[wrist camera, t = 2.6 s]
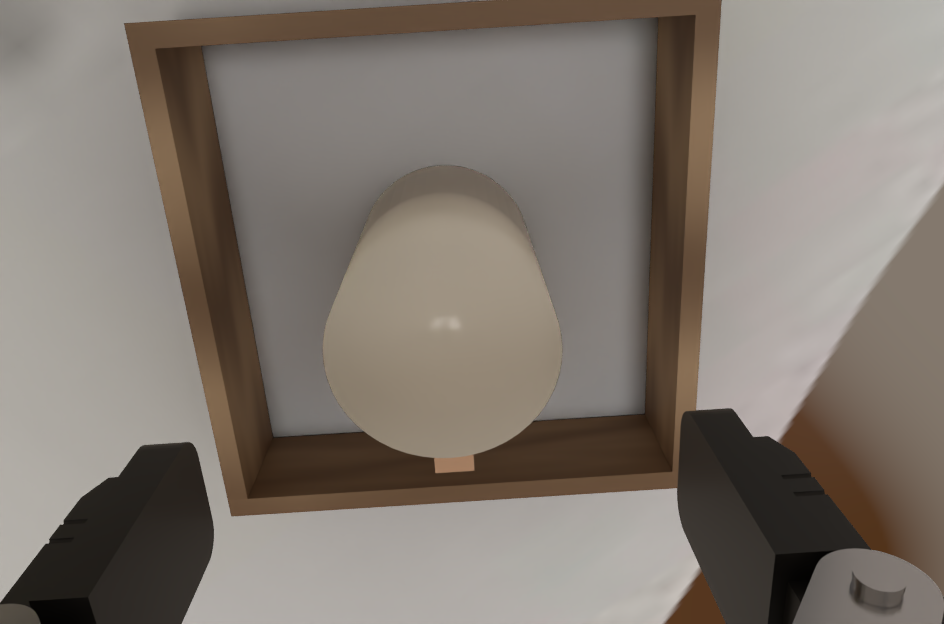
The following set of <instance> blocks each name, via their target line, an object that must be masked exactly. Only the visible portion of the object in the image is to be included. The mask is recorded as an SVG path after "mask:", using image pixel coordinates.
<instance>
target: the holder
mask: <svg viewBox="0 0 944 624" xmlns="http://www.w3.org/2000/svg"><path fill="white" fill-rule="evenodd" d="M721 1H722V0H491V1H475V2H459V3H443V4H427V5H411V6H395V7H379V8H363V9H347V10H331V11H315V12H299V13H283V14H267V15H251V16H235V17H219V18H203V19H187V20H171V21H155V22H139V23H124V25H125V30H126V34H127V39H128V44H129V48H130V53H131V57H132V62H133V67H134V71H135V76H136V80H137V85H138V89H139V94H140V99H141V103H142V108H143V112H144V117H145V122H146V126H147V131H148V135H149V140H150V145H151V149H152V154H153V158H154V163H155V167H156V172H157V177H158V181H159V186H160V190H161V195H162V200H163V204H164V209H165V213H166V218H167V223H168V227H169V232H170V236H171V241H172V246H173V250H174V255H175V259H176V264H177V268H178V273H179V278H180V282H181V287H182V291H183V296H184V301H185V305H186V310H187V314H188V319H189V324H190V328H191V333H192V337H193V342H194V347H195V351H196V356H197V360H198V365H199V369H200V374H201V379H202V383H203V388H204V392H205V397H206V402H207V406H208V411H209V415H210V420H211V425H212V429H213V434H214V438H215V443H216V448H217V452H218V457H219V461H220V466H221V470H222V475H223V480H224V484H225V489H226V493H227V498H228V503H229V507H230V512H231V516H245V515H260V514H276V513H292V512H307V511H323V510H339V509H355V508H370V507H386V506H402V505H418V504H433V503H449V502H465V501H480V500H496V499H512V498H528V497H543V496H559V495H575V494H591V493H606V492H622V491H638V490H653V489H669V488H677V487H678V467H679V447H680V427H681V419H682V415H683V413H684V412H685V411H696V399H697V383H698V368H699V352H700V336H701V320H702V304H703V288H704V272H705V256H706V240H707V224H708V208H709V192H710V176H711V160H712V145H713V129H714V113H715V97H716V81H717V65H718V49H719V33H720V17H721ZM652 17H658V41H657V71H656V101H655V131H654V160H653V190H652V220H651V250H650V280H649V309H648V339H647V369H646V399H645V414H643V415H627V416H611V417H596V418H580V419H564V420H548V421H533V422H532V423H531V424H530V425H528V426H527V427H526V428H525V429H524V430H523V431H521V432H520V433H519V434H517V435H516V436H514V437H513V438H511V439H510V440H508V441H507V442H505V443H503V444H501V445H499V446H497V447H495V448H492V449H489V450H487V451H484V452H481V453H477V454H474V470H475V471H462V472H446V473H435V462H434V458H431V457H422V456H417V455H412V454H408V453H405V452H402V451H399V450H396V449H393V448H391V447H389V446H387V445H385V444H383V443H381V442H379V441H377V440H376V439H374V438H373V437H371V436H370V435H368V434H367V433H366V432H359V433H343V434H328V435H312V436H296V437H280V438H273V435H272V430H271V424H270V419H269V413H268V408H267V403H266V397H265V392H264V386H263V381H262V375H261V370H260V364H259V359H258V353H257V348H256V343H255V337H254V332H253V326H252V321H251V315H250V310H249V304H248V299H247V294H246V288H245V283H244V277H243V272H242V266H241V261H240V255H239V250H238V245H237V239H236V234H235V228H234V223H233V217H232V212H231V206H230V201H229V195H228V190H227V185H226V179H225V174H224V168H223V163H222V157H221V152H220V146H219V141H218V136H217V130H216V125H215V119H214V114H213V108H212V103H211V97H210V92H209V87H208V81H207V76H206V70H205V65H204V59H203V54H202V48H201V46H205V45H221V44H237V43H253V42H269V41H285V40H301V39H317V38H333V37H349V36H365V35H381V34H397V33H413V32H429V31H445V30H461V29H477V28H492V27H508V26H524V25H540V24H556V23H572V22H588V21H604V20H620V19H636V18H652Z"/></svg>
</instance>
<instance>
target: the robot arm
mask: <svg viewBox="0 0 944 624" xmlns="http://www.w3.org/2000/svg"><path fill="white" fill-rule="evenodd" d="M677 499H678V509H679V515H680V520H681V524H682V527H683V530H684V532H685V534H686V537H687V539H688V541H689V543H690V545H691V548H692V550H693V552H694V554H695V556H696V559H697V561H698V563H699V565H700V567H701V570H702V572H703V574H704V576H705V578H706V581H707V583H708V585H709V587H710V589H711V592H712V594H713V596H714V598H715V600H716V603H717V605H718V607H719V609H720V611H721V613H722V616H723V618H724V620H725V622H726V624H944V597H943V595H942V593H941V592H940V590H939V588H938V587H937V585H936V584H935V583H934V582H933V580H932V579H930V578H929V577H928V576H927V575H926V574H925V573H924V572H922V571H921V570H919V569H918V568H917V567H915V566H913V565H912V564H910V563H908V562H906V561H904V560H902V559H900V558H897V557H895V556H892V555H889V554H886V553H883V552H879V551H874V550H871V549H870V547H869V546H868V545H867V544H866V542H865V541H864V540H863V539H862V537H861V536H860V535H859V534H858V532H857V531H856V530H855V528H854V527H853V526H852V525H851V523H850V522H849V521H848V520H847V518H846V517H845V516H844V515H843V513H842V512H841V511H840V510H839V508H838V507H837V506H836V504H835V503H834V502H833V501H832V499H831V498H830V497H829V496H828V495H825V493H824V489H823V488H822V487H821V485H820V484H819V483H818V482H817V480H816V479H815V478H814V477H811V473H810V472H809V470H808V469H807V468H806V467H805V465H804V464H803V463H802V461H801V460H800V459H799V458H798V456H797V455H796V454H795V453H794V452H792V451H791V450H789V449H788V448H786V447H784V446H783V445H781V444H780V443H778V442H776V441H775V440H773V439H772V438H770V437H768V436H764V437H753V436H752V435H751V433H750V432H749V431H748V429H747V428H746V427H745V425H744V424H743V422H742V421H741V420H740V418H739V417H738V415H737V414H736V413H735V411H734V410H732V409H730V408H727V409H712V410H696V411H685V412H684V413H683V415H682V419H681V427H680V447H679V467H678V487H677ZM49 540H50V541H49V544H45V545H44V547H43V548H42V549H41V550H40V552H39V553H38V554H37V556H36V557H35V558H34V560H33V561H32V562H31V563H30V565H29V566H28V567H27V569H26V570H25V571H24V573H23V574H22V575H21V576H20V578H19V579H18V580H17V582H16V583H15V584H14V586H13V587H12V588H11V589H10V591H9V592H8V593H7V595H6V596H5V597H4V599H3V600H2V601H1V602H0V624H182V622H183V619H184V617H185V615H186V613H187V610H188V608H189V606H190V604H191V601H192V599H193V597H194V595H195V592H196V590H197V588H198V586H199V583H200V581H201V579H202V577H203V574H204V572H205V570H206V568H207V565H208V563H209V561H210V558H211V554H212V549H213V541H214V527H213V520H212V515H211V511H210V506H209V502H208V497H207V493H206V488H205V484H204V479H203V475H202V471H201V466H200V462H199V457H198V454H197V451H196V448H195V447H194V445H193V444H192V443H190V442H185V443H169V444H154V445H143V446H141V447H140V448H139V449H138V450H137V452H136V453H135V455H134V456H133V457H132V459H131V460H130V461H129V463H128V464H127V466H126V467H125V468H124V470H123V471H122V473H121V474H120V475H119V477H114V478H108V479H106V480H105V481H104V482H102V483H101V484H100V485H98V486H97V487H95V488H94V489H93V490H91V491H90V492H89V493H87V494H86V495H84V496H83V497H82V498H81V499H80V500H79V501H78V502H77V504H76V505H75V506H74V508H73V509H72V510H71V512H70V513H69V514H68V515H67V517H66V518H65V519H64V524H63V525H60V526H59V527H58V528H57V530H56V531H55V532H54V534H53V535H52V536H51V537H50V539H49Z"/></svg>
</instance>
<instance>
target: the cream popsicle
mask: <svg viewBox="0 0 944 624" xmlns="http://www.w3.org/2000/svg"><path fill="white" fill-rule="evenodd" d="M323 362H324V368H325V372H326V377H327V380H328V382H329V385H330V388H331V390H332V392H333V394H334V396H335V398H336V400H337V402H338V403H339V405H340V406H341V408H342V409H343V410H344V412H345V413H346V414H347V416H348V417H349V418H350V419H351V420H352V421H353V422H354V423H355V424H356V425H357V426H358V427H359V428H361V429H362V430H363V431H364V432H366V433H367V434H368V435H370V436H371V437H373V438H374V439H376V440H377V441H379V442H381V443H383V444H385V445H387V446H389V447H391V448H393V449H396V450H399V451H402V452H405V453H408V454H412V455H417V456H422V457H431V458H434V462H435V473H446V472H462V471H475V470H474V454H477V453H481V452H484V451H487V450H489V449H492V448H495V447H497V446H499V445H501V444H503V443H505V442H507V441H508V440H510V439H511V438H513V437H514V436H516V435H517V434H519V433H520V432H521V431H523V430H524V429H525V428H526V427H527V426H528V425H530V424H531V423H532V421H533V420H534V419H535V418H536V417H537V416H538V415H539V414H540V412H541V411H542V410H543V408H544V407H545V405H546V404H547V402H548V401H549V399H550V397H551V395H552V393H553V391H554V389H555V386H556V383H557V380H558V377H559V373H560V368H561V363H562V337H561V331H560V327H559V323H558V319H557V316H556V313H555V310H554V307H553V304H552V301H551V299H550V296H549V293H548V290H547V287H546V284H545V281H544V278H543V275H542V272H541V269H540V266H539V263H538V260H537V257H536V255H535V252H534V249H533V246H532V243H531V240H530V237H529V234H528V231H527V228H526V225H525V222H524V220H523V217H522V215H521V212H520V210H519V208H518V207H517V205H516V203H515V202H514V200H513V199H512V198H511V196H510V195H509V194H508V193H507V192H506V191H505V190H504V189H503V188H502V187H501V186H500V185H499V184H498V183H496V182H495V181H494V180H492V179H491V178H489V177H487V176H485V175H484V174H482V173H479V172H477V171H474V170H471V169H468V168H464V167H459V166H451V165H439V166H432V167H426V168H423V169H419V170H416V171H414V172H411V173H409V174H407V175H405V176H403V177H402V178H400V179H398V180H397V181H396V182H394V183H393V184H392V185H390V186H389V187H388V188H387V189H386V190H385V191H384V192H383V193H382V194H381V196H380V197H379V198H378V200H377V201H376V203H375V204H374V206H373V208H372V210H371V212H370V214H369V216H368V219H367V221H366V224H365V226H364V229H363V231H362V234H361V236H360V239H359V241H358V244H357V246H356V249H355V251H354V254H353V256H352V259H351V261H350V264H349V266H348V269H347V271H346V274H345V276H344V279H343V281H342V283H341V286H340V288H339V291H338V293H337V296H336V298H335V301H334V303H333V306H332V308H331V311H330V314H329V316H328V319H327V322H326V326H325V331H324V336H323Z"/></svg>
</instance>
